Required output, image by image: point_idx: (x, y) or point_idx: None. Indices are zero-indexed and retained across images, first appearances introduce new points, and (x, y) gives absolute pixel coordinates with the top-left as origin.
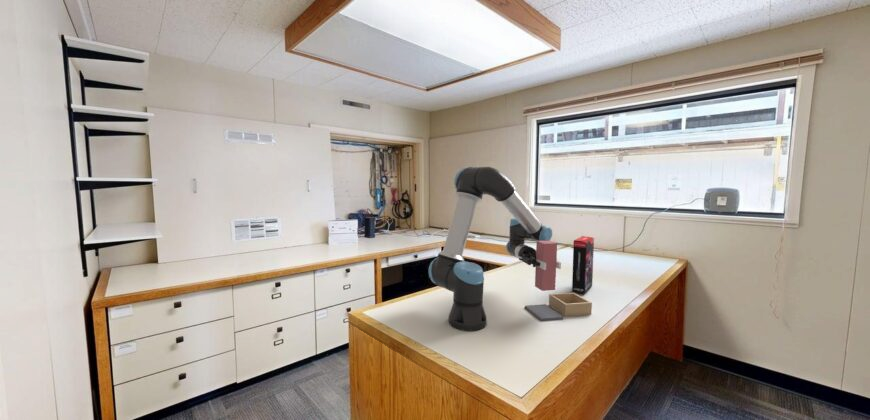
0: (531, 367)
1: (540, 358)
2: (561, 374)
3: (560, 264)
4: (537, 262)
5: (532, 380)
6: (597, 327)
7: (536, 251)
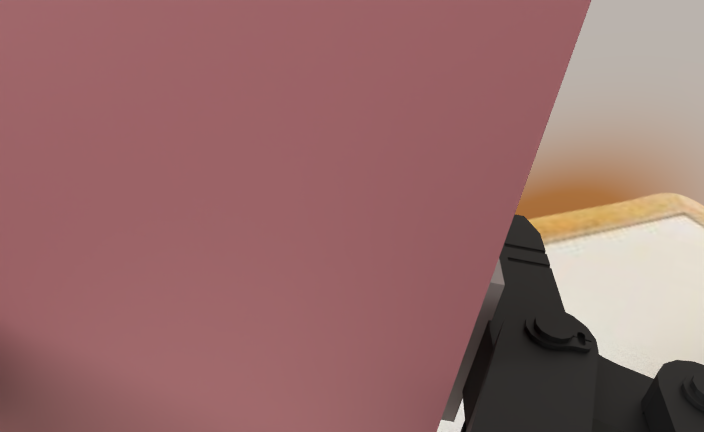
0: (624, 271)
1: (571, 290)
2: (531, 223)
3: None
4: (525, 234)
5: (637, 236)
6: None
7: (550, 97)
